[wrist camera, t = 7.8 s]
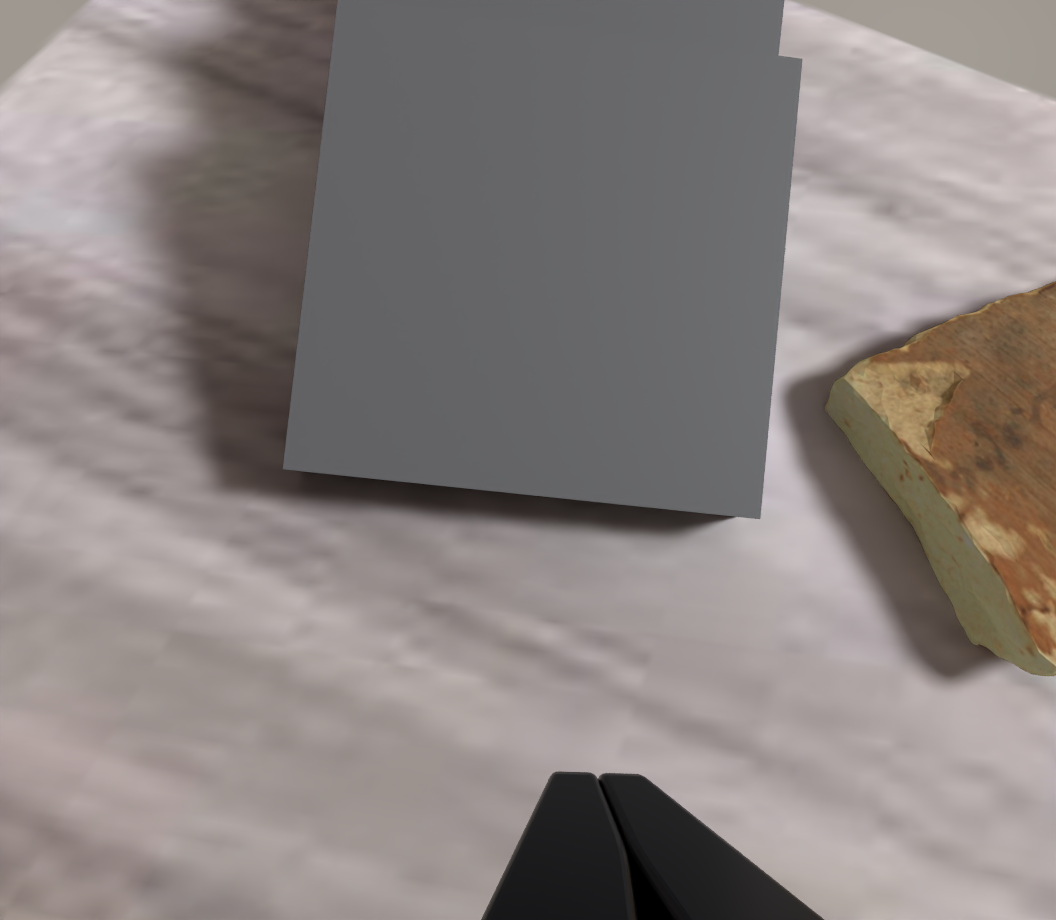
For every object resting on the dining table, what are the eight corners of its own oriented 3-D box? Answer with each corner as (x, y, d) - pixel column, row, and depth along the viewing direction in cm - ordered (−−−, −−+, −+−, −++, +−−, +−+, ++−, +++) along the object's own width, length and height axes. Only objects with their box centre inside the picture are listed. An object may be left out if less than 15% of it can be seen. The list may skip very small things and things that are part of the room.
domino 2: (746, 349, 19) (791, -66, 20) (314, 293, 19) (369, -134, 19) (725, 360, 21) (767, -25, 21) (326, 308, 20) (377, -86, 21)
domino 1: (760, 519, 18) (802, 58, 18) (282, 469, 17) (338, -5, 17) (736, 516, 19) (775, 94, 20) (299, 470, 19) (349, 36, 19)
